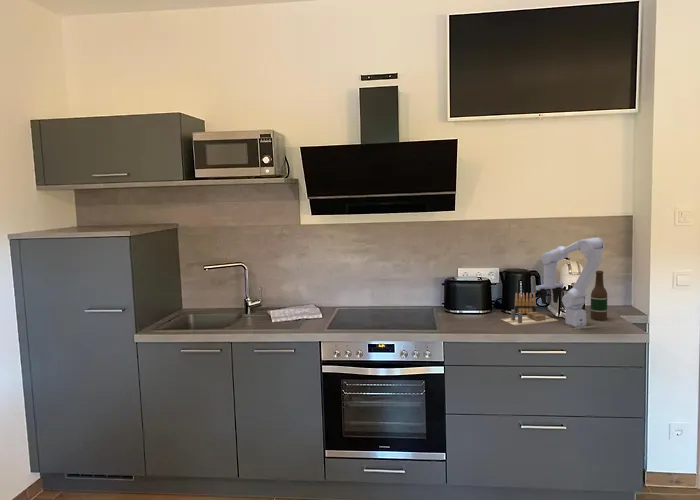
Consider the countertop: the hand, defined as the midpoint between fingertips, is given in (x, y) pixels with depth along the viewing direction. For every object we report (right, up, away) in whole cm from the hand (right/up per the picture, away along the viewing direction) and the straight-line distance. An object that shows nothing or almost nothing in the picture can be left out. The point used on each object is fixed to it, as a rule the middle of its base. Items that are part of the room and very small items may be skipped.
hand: (549, 303), depth 291 cm
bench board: (-11, -9, -2) cm, 14 cm away
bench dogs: (-17, -10, -4) cm, 20 cm away
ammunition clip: (-9, -8, +12) cm, 17 cm away
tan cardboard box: (-7, -8, -1) cm, 10 cm away
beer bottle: (+24, -8, 0) cm, 25 cm away
